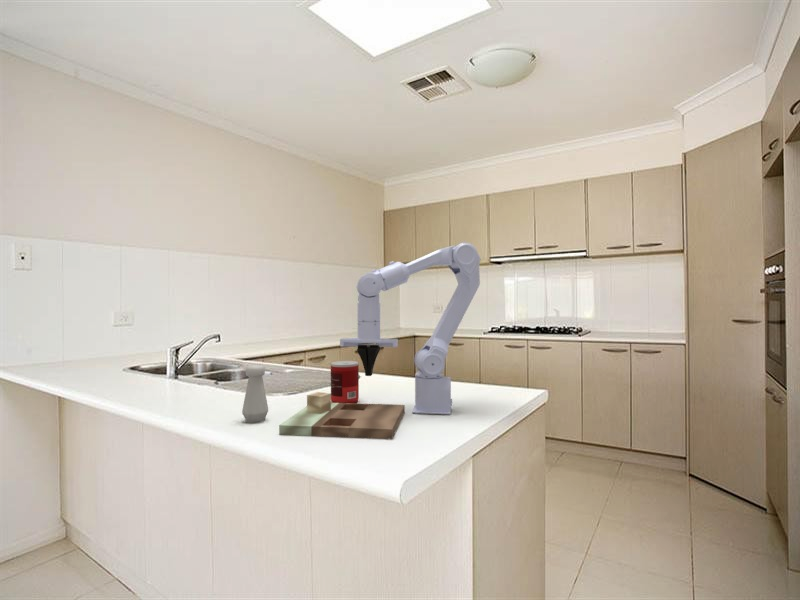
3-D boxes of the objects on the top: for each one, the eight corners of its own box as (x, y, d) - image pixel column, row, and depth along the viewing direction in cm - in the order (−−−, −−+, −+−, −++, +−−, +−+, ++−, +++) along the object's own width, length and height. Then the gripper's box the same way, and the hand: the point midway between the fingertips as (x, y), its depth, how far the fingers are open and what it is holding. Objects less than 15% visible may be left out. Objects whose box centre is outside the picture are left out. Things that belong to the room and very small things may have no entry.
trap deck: (404, 412, 113) (404, 404, 113) (392, 439, 91) (392, 429, 91) (312, 409, 116) (312, 402, 116) (279, 434, 94) (279, 425, 94)
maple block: (330, 410, 107) (330, 393, 107) (321, 413, 104) (321, 396, 104) (317, 408, 109) (317, 392, 109) (307, 412, 105) (307, 395, 105)
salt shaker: (261, 416, 109) (261, 363, 109) (272, 420, 105) (272, 365, 105) (237, 420, 105) (238, 365, 105) (249, 425, 101) (249, 368, 101)
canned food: (361, 399, 128) (361, 360, 128) (354, 405, 120) (354, 365, 120) (335, 398, 130) (335, 360, 130) (327, 404, 122) (327, 364, 122)
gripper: (399, 321, 116) (399, 373, 116) (344, 320, 118) (344, 372, 118) (395, 322, 109) (395, 377, 109) (337, 321, 111) (337, 376, 111)
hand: (368, 375), depth 113 cm, fingers closed
